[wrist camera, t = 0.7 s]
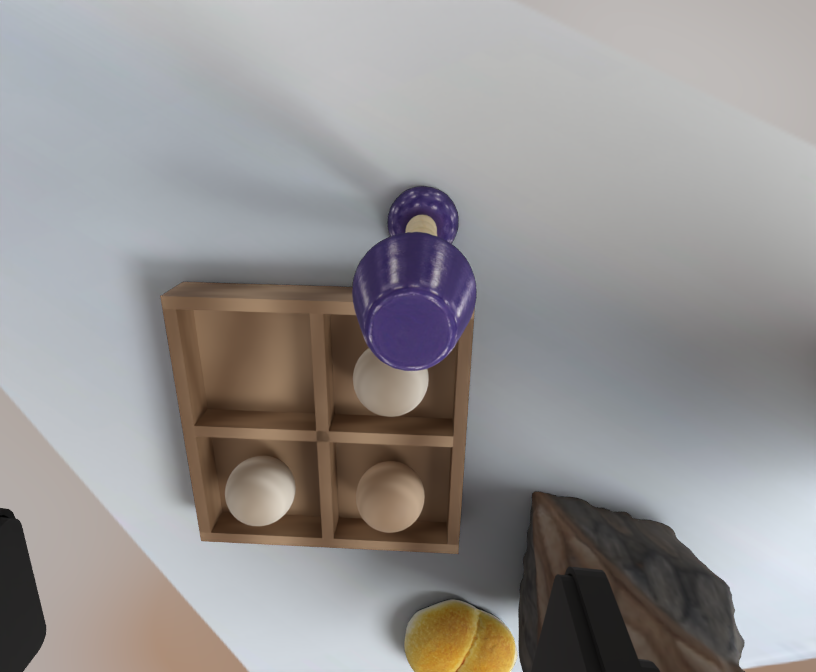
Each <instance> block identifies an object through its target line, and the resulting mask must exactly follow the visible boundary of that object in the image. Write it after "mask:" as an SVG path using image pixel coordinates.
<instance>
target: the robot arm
mask: <svg viewBox="0 0 816 672" xmlns="http://www.w3.org/2000/svg"><path fill="white" fill-rule="evenodd" d="M45 635H46V624H45V620H44V615H43V611H42V607H41V603H40V599H39V595H38V591H37V587H36V583H35V578H34V574H33V570H32V566H31V562H30V558H29V553H28V549H27V545H26V541H25V537H24V533H23V528H22V525H21V523H20V521H19V520H18V519H15V516H14V514H13V512H12V511H10V510H9V509H3V508H0V672H23V671H24V670H25V668H26V667H27V666H28V664H29V663H30V662H31V660H32V659H33V658H34V656H35V655H36V654H37V652H38V651H39V649H40V648H41V646H42V644H43V642H44V639H45ZM531 672H660V670H659V668H658V667H657V666H656V665H655V664H654V663H653V662H652V661H649V660H644V659H638V657H637V654H636V652H635V649H634V646H633V644H632V641H631V638H630V636H629V633H628V630H627V628H626V625H625V623H624V620H623V617H622V615H621V612H620V609H619V607H618V604H617V601H616V599H615V596H614V593H613V591H612V588H611V586H610V583H609V580H608V578H607V576H606V574H605V572H604V571H603V570H599V569H589V568H579V567H568V568H567V569H566V572H565V575H559V574H557V575H556V576H555V579H554V582H553V586H552V590H551V594H550V598H549V602H548V606H547V610H546V614H545V618H544V622H543V626H542V630H541V634H540V638H539V642H538V646H537V650H536V654H535V658H534V662H533V666H532V670H531Z"/></svg>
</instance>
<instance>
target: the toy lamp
mask: <svg viewBox="0 0 816 672" xmlns="http://www.w3.org/2000/svg"><path fill="white" fill-rule="evenodd" d="M387 223H388V230H389V234H390V237H388V238H386V239H384V240H382V241H380V242H379V243H377V244H376V245H375V246H373V247H372V248H371V249H370V250H369V251H368V252H367V253H366V255H365V256H364V257H363V259H362V260H361V261H360V263H359V265H358V267H357V270H356V273H355V275H354V280H353V289H352V297H353V304H354V309H355V313H356V316H357V319H358V322H359V325H360V328H361V331H362V333H363V336H364V339H365V342H366V344H367V345H368V347H369V348H370V350H371V351H372V352H373V354H374V355H375V356H376V357H377V358H378V359H379V360H380V361H382V362H383V363H385V364H387V365H388V366H390V367H392V368H395V369H399V370H403V371H419V370H424V369H428V368H430V367H432V366H434V365H436V364H438V363H439V362H441V361H442V360H443V359H444V358H446V357H447V356H448V354H449V353H450V352H451V351H452V349H453V348H454V347H455V345H456V343H457V342H458V340H459V338H460V337H461V335H462V333H463V332H464V330H465V328H466V327H467V325H468V323H469V321H470V319H471V317H472V314H473V311H474V308H475V303H476V282H475V277H474V274H473V272H472V269H471V266H470V265H469V263H468V261H467V259H466V258H465V257H464V256H463V254H462V253H461V252H460V251H459V250H458V249H457V248H456V247H455V246H453V245H452V242H453V240H454V239H455V236H456V234H457V230H458V224H459V223H458V212H457V210H456V207H455V205H454V203H453V202H452V200H451V199H450V198H449V197H448V195H446V194H445V193H444V192H442V191H440V190H438V189H435V188H432V187H425V186H420V187H414V188H411V189H409V190H406V191H405V192H403V193H402V194H401V195H400V196H399V197H398V198H397V199H396V200H395V201H394V203H393V204H392V206H391V208H390V211H389V214H388V222H387Z"/></svg>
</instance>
